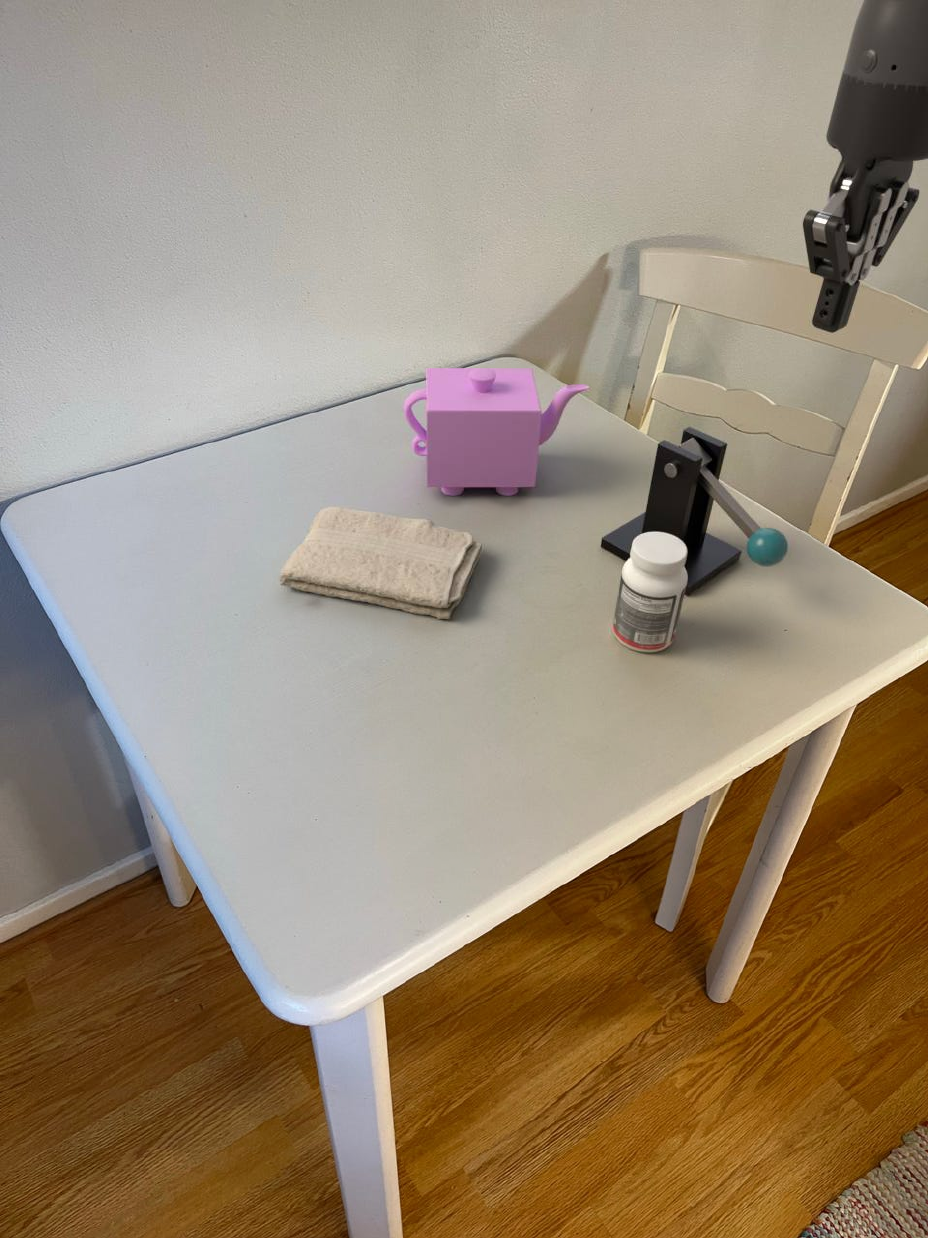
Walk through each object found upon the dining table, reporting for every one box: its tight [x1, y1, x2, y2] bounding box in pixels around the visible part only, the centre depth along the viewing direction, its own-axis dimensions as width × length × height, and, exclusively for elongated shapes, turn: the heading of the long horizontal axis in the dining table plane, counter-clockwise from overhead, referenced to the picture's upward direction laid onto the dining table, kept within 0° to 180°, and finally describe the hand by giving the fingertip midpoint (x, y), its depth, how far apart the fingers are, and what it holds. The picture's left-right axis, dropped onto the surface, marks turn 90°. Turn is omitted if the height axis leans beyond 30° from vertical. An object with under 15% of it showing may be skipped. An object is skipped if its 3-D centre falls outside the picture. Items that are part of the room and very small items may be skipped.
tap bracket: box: [600, 426, 742, 597], centre depth 88 cm, size 11×9×13 cm
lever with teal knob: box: [678, 438, 789, 568], centre depth 84 cm, size 14×4×4 cm, turn 43°
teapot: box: [403, 367, 590, 497], centre depth 99 cm, size 20×10×12 cm, turn 92°
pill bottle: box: [612, 532, 688, 653], centre depth 79 cm, size 6×6×10 cm
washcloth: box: [278, 506, 483, 620], centre depth 88 cm, size 12×18×3 cm, turn 76°
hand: (828, 327), depth 70 cm, fingers closed
